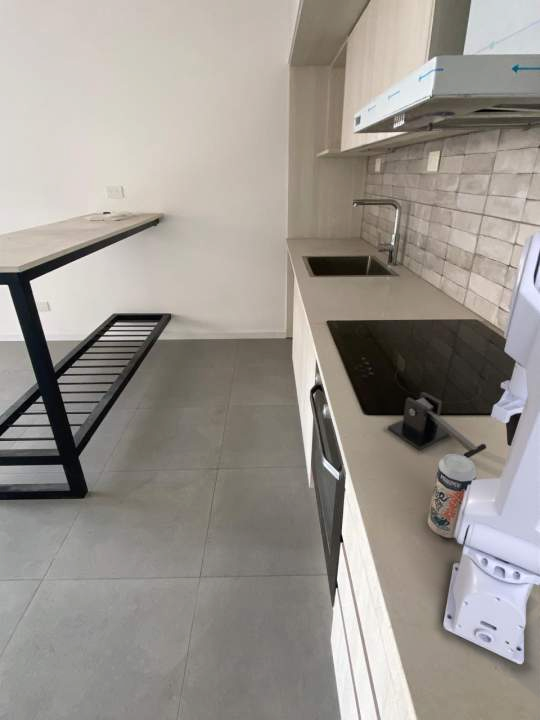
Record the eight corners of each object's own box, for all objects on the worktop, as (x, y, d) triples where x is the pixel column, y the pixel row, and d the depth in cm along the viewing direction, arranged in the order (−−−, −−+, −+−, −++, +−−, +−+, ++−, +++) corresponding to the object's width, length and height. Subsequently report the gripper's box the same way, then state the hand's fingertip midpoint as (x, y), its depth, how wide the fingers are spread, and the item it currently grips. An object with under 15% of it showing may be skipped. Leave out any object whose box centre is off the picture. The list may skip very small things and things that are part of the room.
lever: (483, 452, 70) (489, 443, 69) (465, 462, 68) (470, 453, 66) (424, 404, 79) (428, 395, 78) (406, 411, 77) (410, 402, 76)
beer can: (420, 520, 60) (431, 457, 55) (444, 510, 61) (457, 448, 56) (444, 545, 56) (459, 479, 50) (469, 533, 57) (486, 468, 52)
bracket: (450, 436, 78) (457, 402, 75) (418, 451, 74) (424, 416, 71) (418, 417, 84) (423, 385, 81) (387, 430, 80) (391, 397, 77)
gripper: (540, 342, 59) (518, 418, 65) (479, 366, 53) (460, 448, 58) (594, 359, 54) (564, 441, 59) (533, 388, 47) (507, 476, 53)
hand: (516, 446), depth 59 cm, fingers closed
